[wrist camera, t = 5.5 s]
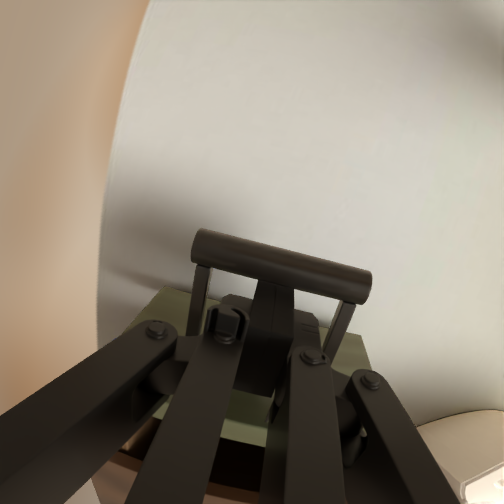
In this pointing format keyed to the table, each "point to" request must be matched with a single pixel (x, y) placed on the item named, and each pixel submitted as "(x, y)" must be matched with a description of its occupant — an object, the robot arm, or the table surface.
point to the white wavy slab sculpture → (470, 454)
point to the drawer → (196, 304)
